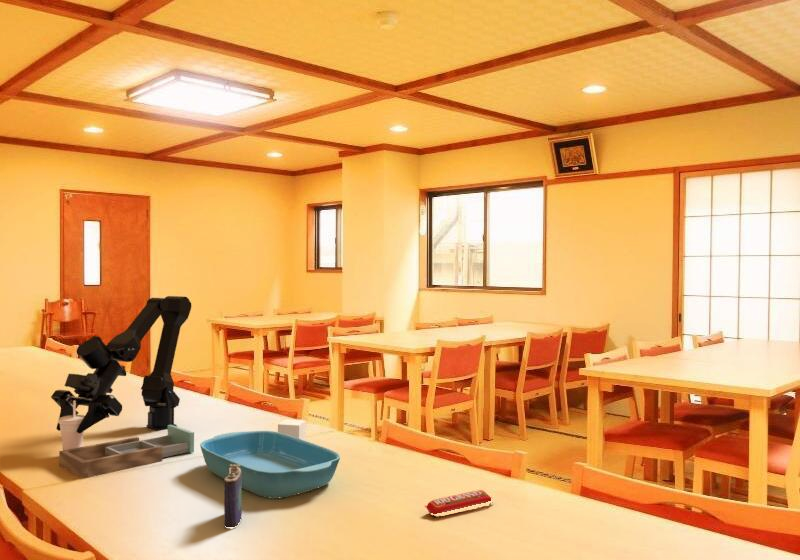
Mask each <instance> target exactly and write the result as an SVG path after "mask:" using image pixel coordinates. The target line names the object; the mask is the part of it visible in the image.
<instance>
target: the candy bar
mask: <svg viewBox="0 0 800 560" xmlns="http://www.w3.org/2000/svg"><path fill="white" fill-rule="evenodd" d="M491 498H492V497H491V495H489V494H488V493H487V492H485V490H482V489H478V490H472V491H468V492H464V493H459V494H454V495H450V496H444V497H439V498H435V499H433V500H430V501H429V502H428V503H427V505H424V508H426V509H427V511H428V513H429V514H430V513H433V514H437V513H442V512H447V511H451V510H455V509H460V508H464V507H468V506H472V505H476V504H481V503H486V502H488V501H491Z"/></svg>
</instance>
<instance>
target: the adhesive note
mask: <svg viewBox="0 0 800 560" xmlns="http://www.w3.org/2000/svg"><path fill="white" fill-rule="evenodd" d="M306 425H307V420H305V419H289V418H288V419H287V418H286V419H283V420H282V421H281V422H279V423H278V424H277V432H279V433H283V434H286V435H290V436H293V437H296V438H299V439H301V440H304V441H307V440H306V438H307V437H306V435H307V432H306V431H307V426H306Z"/></svg>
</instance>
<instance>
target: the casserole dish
mask: <svg viewBox="0 0 800 560" xmlns="http://www.w3.org/2000/svg"><path fill="white" fill-rule="evenodd" d="M199 446H200V451H201V453H202V456H203V457H202V458H203V459H204V463H205V465H206V467H207V468H208V469H209V471H210V472H212V473H213V474H215V475H216V476H218V477H219V478H222V479H223V480H224V479H225V478H226V477H227V476H228V470H229V468H231V467H230V466H229V465H231V464H232V465H234V464H235V465H237V464H238V465H240V466H238V467H239V468H240V469H241V472H242V478H241V480H242V484H241V487H242V488H241V489H243V490H246V491H248V490H249V492H250V491H251V492H250V493H253V494H255V493H256V494H255V495H257V494H258V496H260V495H261V496H260V497H263V496H265V497H264V498H266V497H271V498H270V499H273V498H279V497H286V498H288V497H287V496H290V497H292V496H291V495H294V496H296V495H295V494H298V493H301V494H303V493H302V492H304V493H306V492H305V491H308V490H311V491H313V490H312V489H315V488H318V487H321V486H323V487H325V486H326V485H328V484H329V483H330V482H331V480H333V477H334V475H335V473H336V470H337V467H338V465H339V462H340V459H341V455H340V454H339V453H338V452H336V451H335V450H332V449H330V448H327V447H324V446H322V445H318V444H315V443H314V442H311V441H308V440H306V441H304V440H301V439H299V438H296V437H293V436H290V435H286V434H283V433H279V432H278V431H274V430H273V431H272V430H250V431H249V430H248V431H233V432H232V431H231V432H227V433H223V434H222V433H221V434H217V435H215V436H213V437H211V438H208V439H205V440H203V441H201V442H200V444H199ZM324 485H325V486H324ZM321 488H322V487H321ZM318 489H319V488H318ZM315 490H316V489H315ZM308 492H309V491H308ZM298 495H299V494H298ZM279 499H280V498H279Z"/></svg>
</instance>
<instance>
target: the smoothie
mask: <svg viewBox="0 0 800 560" xmlns="http://www.w3.org/2000/svg"><path fill="white" fill-rule="evenodd" d="M76 411H77V409H76V400H74V401H73V415H69V416H64V417H60V418H59V417H58V419H57V420H58V421H57V424H58V423H59V424H60V437H61V443H62V445H61V446H62V451H63V450H68V449H74V448H79V447H83V441H84V440H83V439H84V433H85V431H83V432H82V433H78V432H77V429H78V427H79V425H80V423H81V422H82V420H83V418H84V417H85V415H83V414H77V415H76Z"/></svg>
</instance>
